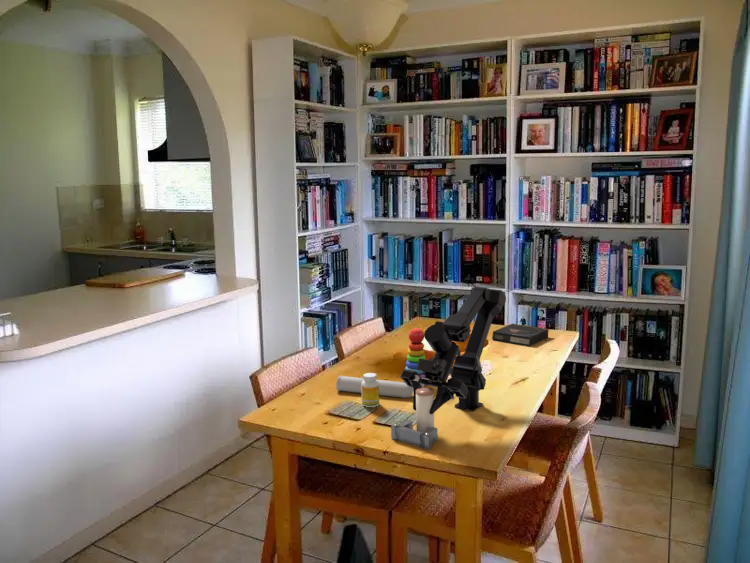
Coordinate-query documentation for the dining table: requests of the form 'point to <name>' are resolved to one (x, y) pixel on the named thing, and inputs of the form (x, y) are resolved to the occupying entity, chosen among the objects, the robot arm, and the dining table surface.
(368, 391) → the supplement bottle
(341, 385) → the tube
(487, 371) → the dining table surface
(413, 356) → the stacking toy
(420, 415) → the mushroom
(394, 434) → the bracket
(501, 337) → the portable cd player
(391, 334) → the dining table surface
